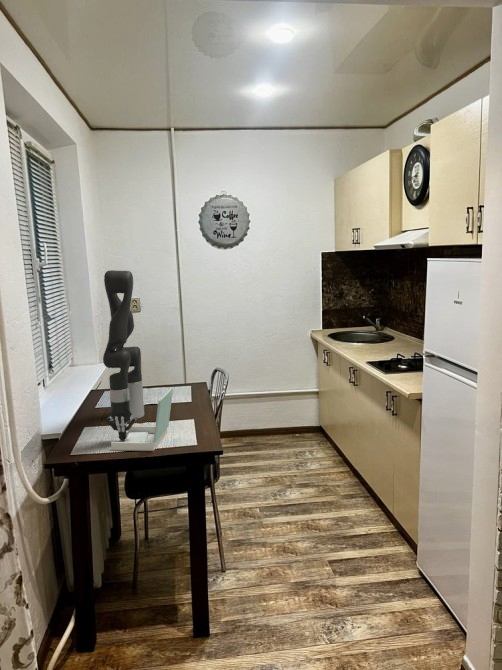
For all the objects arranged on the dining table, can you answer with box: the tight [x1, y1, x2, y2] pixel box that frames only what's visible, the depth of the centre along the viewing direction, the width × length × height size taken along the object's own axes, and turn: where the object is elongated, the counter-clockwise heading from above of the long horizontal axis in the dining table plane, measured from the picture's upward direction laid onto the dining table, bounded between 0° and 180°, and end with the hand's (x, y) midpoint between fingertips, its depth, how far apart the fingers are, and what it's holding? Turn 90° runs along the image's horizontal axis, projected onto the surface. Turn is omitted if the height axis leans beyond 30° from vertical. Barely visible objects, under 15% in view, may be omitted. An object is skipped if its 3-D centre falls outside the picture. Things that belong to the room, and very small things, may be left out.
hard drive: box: [124, 432, 149, 442], centre depth 200 cm, size 2×8×12 cm
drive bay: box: [110, 425, 168, 452], centre depth 198 cm, size 19×17×3 cm
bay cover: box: [153, 387, 174, 443], centre depth 195 cm, size 18×17×1 cm
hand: (122, 439), depth 198 cm, fingers closed
